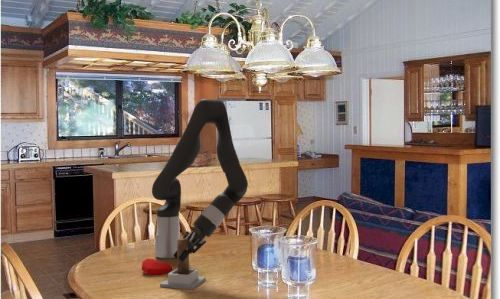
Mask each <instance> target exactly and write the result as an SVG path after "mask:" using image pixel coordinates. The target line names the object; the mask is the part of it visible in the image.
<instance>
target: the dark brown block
mask: <svg viewBox="0 0 500 299" xmlns="http://www.w3.org/2000/svg"><path fill="white" fill-rule="evenodd" d="M188 242H189V239H187V238H183V237H181V238H180V237H179V239H177V259H176V262H177V263H176V264H177V267H176V269H178V274H184V275H188V274H189V269H190V254H189V255H188V256H187V258H186V259H185V260H184V261H183V262H182V261H180V260H179V259H178V257H179V256H180V254H181V253H182V252H183V251H184V250H186V247H187V246H188Z"/></svg>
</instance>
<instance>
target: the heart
mask: <svg viewBox="0 0 500 299" xmlns="http://www.w3.org/2000/svg"><path fill="white" fill-rule="evenodd" d="M141 271H143V273H144V274H145V275H147V276H161V275H168V274H169V273H170V272H172V271H174V269H173V266H172V264H170V263H167V262H162V261H160V262H159V261H158V260H157V259H154V258H146V259H144V260H143V261H142V263H141Z"/></svg>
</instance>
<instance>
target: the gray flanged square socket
mask: <svg viewBox="0 0 500 299" xmlns="http://www.w3.org/2000/svg"><path fill="white" fill-rule="evenodd" d="M206 278H207V277H206V276H199V269H193V268H189V274H188V275H184V274H178V269H177V268H175V269H173V270H172V271H171V272H170V273H168V274H167V279H166V280H164V281H162V282H161V283H160V284H159V287H160V288H172V289H181V290H182V289H184V290H194V289H196V288H197V287H198V286H200V285H201V284H202V283H203V282H204V281H206Z"/></svg>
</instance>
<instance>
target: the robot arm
mask: <svg viewBox="0 0 500 299" xmlns="http://www.w3.org/2000/svg"><path fill="white" fill-rule="evenodd" d="M206 124H214V125H215V127H216V129H217V134H218V137H217V138H218V139H217V144H216V155H217V159H218V163H219V165H220V169H221V170H222V172H223V173H224V174H225V178H226V181H227V186H226V188H225V189H224V190H223V191H222V192H221V193H219V194H217V196H215V198H214V199H213V200H212V201H211V203H210V204H209V205H208V206H207V207H205V209H204V210H203V211H202V212H201V214H200V215H199V216H198V217H197V218H196V219H195V220H194V222H192V225H193V227H194V228H193V229H192V230H191V231H190V232H189V231H188V230H187V231H186V232H184V234H183V236H182V238H187V239H189V242H188V246H187V247H186V250H184V251H183V252H182V253H181V254H180V256H179V257H178V259H179V260H180V261H182V262H183V261H184V260H185V259H186V258H187V256H188V255H189V256H190V255H191V254H192V253H193V254H195V253H196V252H197V251H199V249H201V248H202V247H203V246H204V245H205V244H206V242H207V241H206V239H205V238H206V237H207V238H210V237H212V235H213V234H214V232H215V231H216V230H217V228H219V226H220V225H221V223H222V222H223V221H224V219H225V218H226V217H227V215H229V214H228V213H230V211H231V210H232V209H233V207H234V206H235V205H236V204H237V203H239V202H240V201H241V199H242V198H244V196H245V195H246V193H247V191H248V185H249V183H248V179H247V177H246V174H245V172H244V170H243V168H242V166H241V163H240V160H239V158H238V154H237V152H236V149H235V145H234V142H233V138H232V131H231V125H230V121H229V115H228V110H227V108H226V105H225V103H224V102H223V101H222V100H220V99H212V98H203V99H200V100H199V101H198V102H197V103H196V105H195V107H194V108H193V111H192V113H191V116H190V118H189V120H188V122H187V125H186V128H185V129H184V131H183V133H182V135H181V137H180V138H179V141H178V142H177V144H176V146H175V148H174V150H173V151H172V154H171V156H170V157H169V159H168V161H167V162H166V164H165V165H164V167H163V169H162V170H161V171H160V173H159V174H158V176H157V177H156V178H155V180H154V182H153V184H152V187H151V193H152V194H151V195H152V196H153V198H154V199H155V200H157V201H164V204H163V205H161V206H160V207H159V208H157V210H156V234H154V235H155V236H154V239H155V245H154V246H155V251H154V252H155V258H160V259H174V258H175V259H176V260H177V239H180V210H181V207H182V206H181V200H182V185H181V183H180V181H179V179H178V177H179V175H181V174H182V173H183V172H185V171H187V170H188V168H190V167H191V166H192V165H193V163H194V162H195V160H196V159H197V157H198V155H199V153H200V151H201V139H200V134H201V132H202V130H203V128H204V127H205V125H206Z"/></svg>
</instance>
